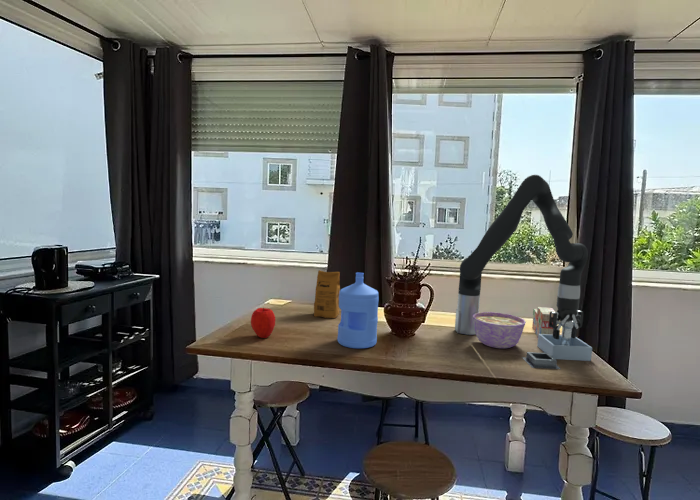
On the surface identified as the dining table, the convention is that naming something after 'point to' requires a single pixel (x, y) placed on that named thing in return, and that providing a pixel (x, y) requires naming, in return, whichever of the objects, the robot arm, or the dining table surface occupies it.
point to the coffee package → (327, 295)
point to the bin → (564, 348)
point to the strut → (566, 333)
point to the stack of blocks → (542, 321)
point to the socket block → (541, 360)
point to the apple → (263, 322)
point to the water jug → (358, 315)
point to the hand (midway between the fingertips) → (564, 338)
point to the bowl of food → (498, 329)
